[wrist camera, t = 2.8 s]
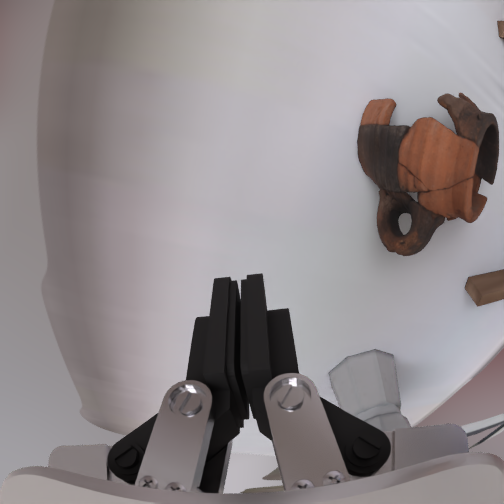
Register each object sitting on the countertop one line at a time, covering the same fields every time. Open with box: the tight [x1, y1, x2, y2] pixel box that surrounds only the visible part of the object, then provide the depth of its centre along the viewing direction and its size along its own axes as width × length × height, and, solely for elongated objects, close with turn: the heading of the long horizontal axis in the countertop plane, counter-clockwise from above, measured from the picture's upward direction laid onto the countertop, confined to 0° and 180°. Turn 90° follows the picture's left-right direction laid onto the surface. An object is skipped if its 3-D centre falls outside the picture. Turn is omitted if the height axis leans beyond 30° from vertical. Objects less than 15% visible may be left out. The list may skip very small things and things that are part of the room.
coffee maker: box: [329, 349, 411, 431], centre depth 27 cm, size 15×9×18 cm, turn 152°
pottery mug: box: [357, 93, 499, 256], centre depth 17 cm, size 12×10×8 cm
